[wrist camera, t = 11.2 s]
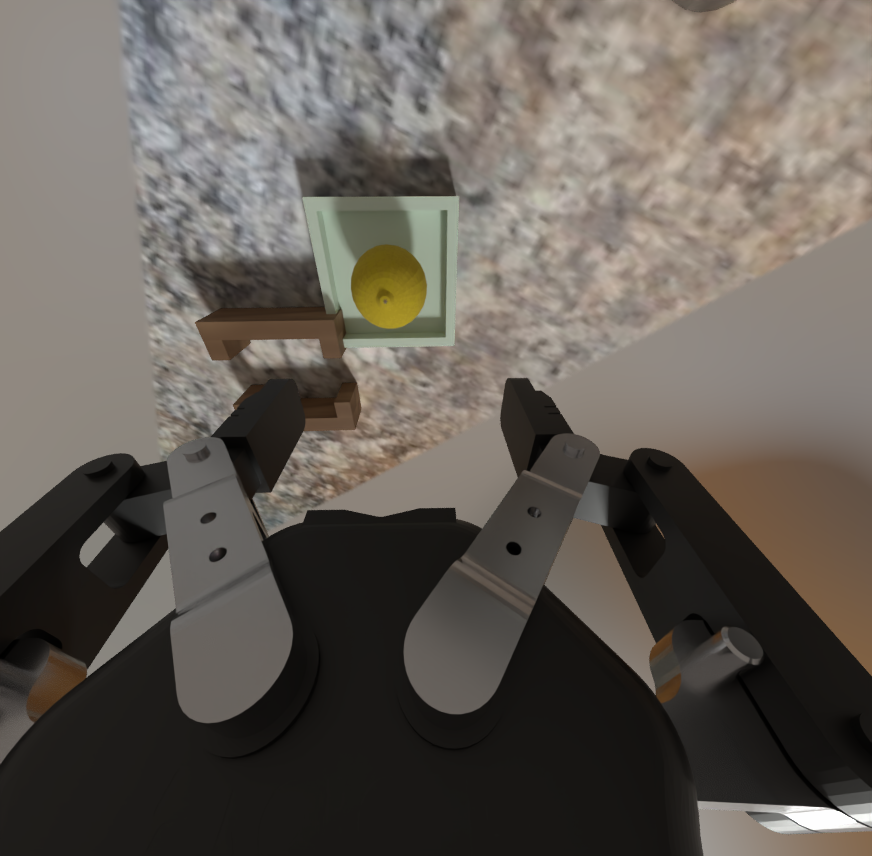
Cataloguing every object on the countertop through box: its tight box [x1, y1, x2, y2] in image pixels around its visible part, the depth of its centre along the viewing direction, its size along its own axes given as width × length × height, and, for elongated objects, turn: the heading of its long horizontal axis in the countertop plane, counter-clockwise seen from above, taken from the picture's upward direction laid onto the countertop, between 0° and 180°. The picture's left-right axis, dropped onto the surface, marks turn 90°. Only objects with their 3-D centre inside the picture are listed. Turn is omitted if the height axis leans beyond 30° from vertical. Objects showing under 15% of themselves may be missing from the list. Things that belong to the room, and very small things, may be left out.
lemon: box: [351, 244, 427, 329], centre depth 23 cm, size 6×6×8 cm
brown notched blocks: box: [195, 307, 361, 431], centre depth 30 cm, size 11×11×4 cm
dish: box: [302, 196, 459, 348], centre depth 26 cm, size 11×11×2 cm
